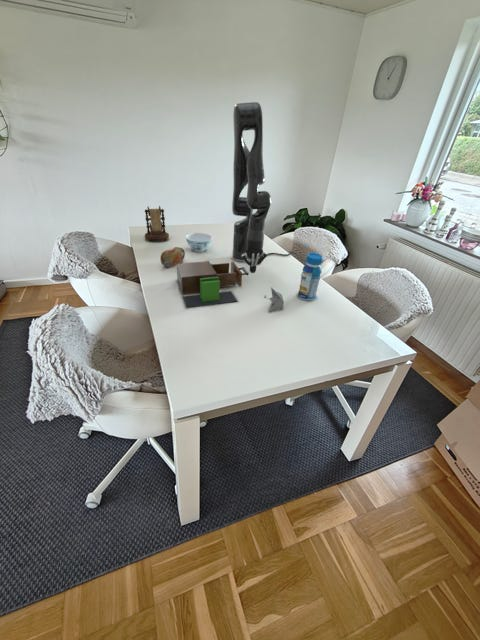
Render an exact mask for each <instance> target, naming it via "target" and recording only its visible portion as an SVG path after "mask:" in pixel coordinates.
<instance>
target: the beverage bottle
mask: <svg viewBox="0 0 480 640" xmlns="http://www.w3.org/2000/svg"><path fill="white" fill-rule="evenodd" d="M323 260H324V257H323V255H322V254H320V253H316V252H310V253H307V255H306V258H305V261H306V262H305V264H304V265H303V267H302V272H301V275H300V283H299V288H298V293H297V296H298V297H299V299H301V300H303V301H314V300H315V299H316V297H317V292H318V288H319V283H320V280H321V279H322V276H321V275H322V271H323V270H322V266H321V265H322V264H323Z"/></svg>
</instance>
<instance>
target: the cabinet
mask: <svg viewBox="0 0 480 640" xmlns="http://www.w3.org/2000/svg"><path fill="white" fill-rule="evenodd" d="M211 264H212V263H211V262H210V261H209V260H205V261H194V262H192V261H191V262H181V263H179V264H176V265H175V266H176V280H177V283H178V285H179V289H180V291H181V294H182V295H184V296H186V295H195V294H200V279H201V278H209V277H217V274H216V272H215V270H214V269H213V267H212V265H211Z"/></svg>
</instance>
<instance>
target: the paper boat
mask: <svg viewBox="0 0 480 640" xmlns="http://www.w3.org/2000/svg"><path fill="white" fill-rule="evenodd" d="M270 291H271V296H272V297H270V298H268V297H267V296H266V295H267V294H265V295H264V296H263V299H268V300H270V302H271V303H272V306H271V307H270V310H269V313H271V312H276V311H281V310H282V308H283V307H284V306H283V305H284V298H283V295H282V293H281V292H279V291H278V290H276V289H275V288H274V287H270Z"/></svg>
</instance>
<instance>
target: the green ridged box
mask: <svg viewBox="0 0 480 640" xmlns="http://www.w3.org/2000/svg"><path fill="white" fill-rule="evenodd" d="M220 288H221V287H220V281H219V277H209V278H201V279H200V293H199V295H200V298H201V300H202V302H207V301H215V300H219V292H220Z"/></svg>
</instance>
